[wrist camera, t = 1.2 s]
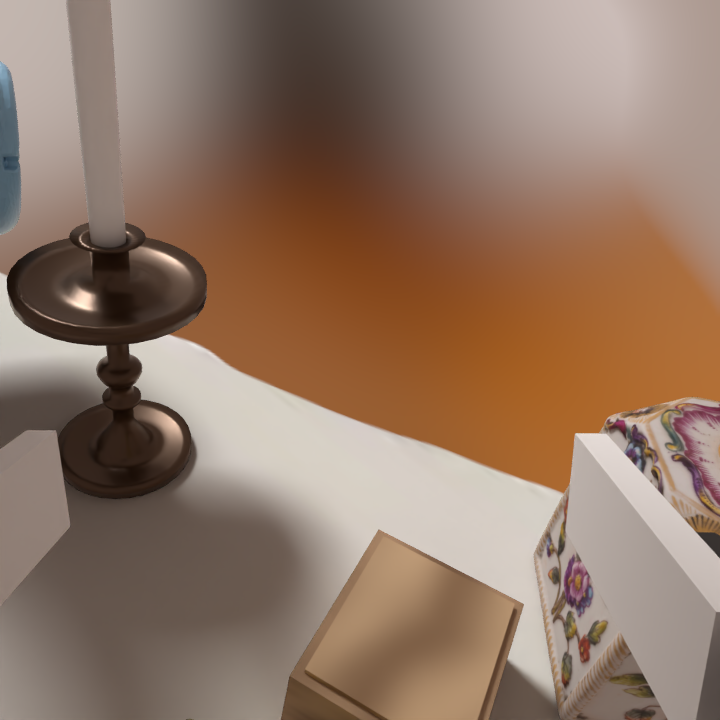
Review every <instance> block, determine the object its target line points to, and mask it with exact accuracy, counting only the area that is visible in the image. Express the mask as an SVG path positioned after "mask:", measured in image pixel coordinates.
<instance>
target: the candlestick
mask: <svg viewBox="0 0 720 720" xmlns="http://www.w3.org/2000/svg"><path fill="white" fill-rule="evenodd" d="M66 7H67V17H68V27H69V36H70V45H71V54H72V55H71V56H72V65H73V75H74V84H75V94H76V103H77V112H78V113H77V114H78V123H79V133H80V142H81V151H82V162H83V171H84V181H85V191H86V200H87V209H88V219H89V223H86V224H83V225H80V226H78V227H76V228H75V229H74V230H72V232H71V233H70V236H69V237H70V238H68V239H63V240H59V241H56V242H53V243H50V244H47V245H44V246H42V247H40V248H37V249H35V250H34V251H31V252H29V253H28V254H26V255H25V256H24V257H23V258H21V259H20V260H18V261H17V262H16V264H15V265H14V266H13V267H12V268H11V270H10V272H9V275H8V277H7V291H8V296H9V301H10V305H11V307H12V309H13V311H14V314H15V315H16V316H17V317H18V318H19V319H20V320H21V321H22V322H23V323H24V324H25V325H26V326H28V327H30V328H31V329H33V330H35V331H36V332H38V333H41V334H43V335H46V336H48V337H51V338H53V339H57V340H62V341H66V342H70V343H76V344H85V345H94V346H106V349H107V356H106V357H104V358H102V359H101V360H100V361H99V363H98V365H97V368H96V371H97V375H98V377H99V378H100V380H101V381H102V382H103V383H104V384H105V385H106V386H108V387H109V388H108V389H106V390H105V391H104V393H103V396H102V398H103V404H100V405H97V406H95V407H92V408H90V409H87V410H86V411H84V412H82V413H81V414H79V415H77V416H76V417H75V418H74V419H72V420H71V421H70V422H69V423H68V424H67V425H66V427H65V428H64V429H63V430H62V432H61V434H60V436H59V438H58V446H59V452H60V459H61V466H62V472H63V477H64V478H65V479H66V481H67V482H68V483H69V484H70V485H72V486H73V487H75V488H76V489H77V490H79V491H82V492H84V493H86V494H88V495H92V496H96V497H100V498H111V499H120V498H131V497H136V496H141V495H144V494H147V493H150V492H153V491H155V490H157V489H159V488H161V487H163V486H165V485H167V484H168V483H169V482H171V481H172V480H173V479H174V478H176V477H177V476H178V475H179V474H180V472H181V471H182V470H183V469H184V467H185V466H186V464H187V462H188V460H189V456H190V452H191V433H190V430H189V427H188V425H187V424H186V422H185V420H184V419H183V418H182V417H181V416H180V415H179V414H178V413H177V412H175V411H174V410H172V409H170V408H169V407H167V406H164V405H162V404H159V403H156V402H151V401H147V400H141V393H140V390H139V389H138V388H137V387H135V386H133V384H135V383H136V381H137V380H138V379H139V377H140V375H141V373H142V364H141V362H140V361H139V359H137V358H136V357H135V356H133V355H130V354H129V344H134V343H140V342H144V341H148V340H153V339H157V338H159V337H162V336H165V335H168V334H170V333H173V332H175V331H177V330H179V329H180V328H182V327H184V326H186V325H187V324H188V323H190V322H191V321H192V320H193V319H195V318H196V317H197V316H198V314H199V313H200V311H201V310H202V309H203V307H204V304H205V301H206V293H207V281H206V274H205V271H204V269H203V267H202V266H201V264H200V263H199V262H198V261H197V260H196V259H195V258H194V257H192V256H191V255H190V254H188V253H187V252H185V251H183V250H181V249H179V248H177V247H175V246H173V245H170V244H168V243H165V242H162V241H158V240H154V239H150V238H146V236H145V233H144V232H143V231H142V230H141V229H139V228H138V227H136V226H134V225H131V224H128V223H125V215H124V200H123V185H122V170H121V154H120V139H119V125H118V110H117V95H116V81H115V65H114V50H113V34H112V19H111V4H110V0H66Z"/></svg>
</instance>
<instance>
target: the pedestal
mask: <svg viewBox="0 0 720 720" xmlns="http://www.w3.org/2000/svg"><path fill="white" fill-rule="evenodd" d="M523 606H524V604H523V603H521V602H519V601H517V600H515V599H513V598H511V597H509V596H507V595H505V594H503V593H501V592H499V591H497V590H495V589H493V588H491V587H489V586H488V585H486V584H484V583H482V582H480V581H478V580H476V579H474V578H472V577H470V576H468V575H466V574H464V573H462V572H460V571H458V570H456V569H454V568H453V567H451V566H449V565H447V564H445V563H443V562H441V561H439V560H437V559H435V558H433V557H431V556H429V555H427V554H425V553H423V552H421V551H419V550H418V549H416V548H414V547H412V546H410V545H408V544H406V543H404V542H402V541H400V540H398V539H396V538H394V537H392V536H390V535H388V534H386V533H384V532H382V531H381V530H378V532H377V533H376V535H375V536H374V538H373V540H372V541H371V543H370V545H369V546H368V548H367V550H366V551H365V553H364V555H363V556H362V558H361V560H360V561H359V563H358V564H357V566H356V568H355V569H354V571H353V573H352V574H351V576H350V578H349V579H348V581H347V583H346V584H345V586H344V587H343V589H342V591H341V592H340V594H339V596H338V597H337V599H336V601H335V602H334V604H333V606H332V607H331V609H330V610H329V612H328V614H327V615H326V617H325V619H324V620H323V622H322V624H321V625H320V627H319V629H318V630H317V632H316V634H315V635H314V637H313V638H312V640H311V642H310V643H309V645H308V647H307V648H306V650H305V652H304V653H303V655H302V657H301V658H300V660H299V661H298V663H297V665H296V666H295V668H294V670H293V671H292V673H291V675H290V677H289V682H288V687H287V692H286V697H285V702H284V707H283V713H282V718H281V720H489V717H490V713H491V710H492V707H493V704H494V700H495V697H496V694H497V691H498V687H499V684H500V681H501V677H502V674H503V671H504V668H505V664H506V661H507V658H508V655H509V651H510V648H511V645H512V642H513V638H514V635H515V632H516V628H517V625H518V622H519V619H520V615H521V612H522V609H523Z"/></svg>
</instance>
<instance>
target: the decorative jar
mask: <svg viewBox="0 0 720 720" xmlns="http://www.w3.org/2000/svg"><path fill="white" fill-rule="evenodd" d="M599 434H607V435H608V436H609V437H610V438H611V439H612V441H613V442H614V443H615V444H616V445H617V446H618V447H619V448H620V449H621V450H622V452H623V453H624V454H625V455H626V456H627V457H628V458H629V459H630V460H631V461H632V463H633V464H634V465H635V466H636V467H637V468H638V469H639V470H640V471H641V472H642V473H643V475H644V476H645V477H646V478H647V479H648V480H649V481H650V482H651V483H652V484H653V486H654V487H655V488H656V489H657V490H658V491H659V492H660V493H661V494H662V495H663V497H664V498H665V499H666V500H667V501H668V502H669V503H670V504H671V505H672V506H673V508H674V509H675V510H676V511H677V512H678V513H679V514H680V515H681V516H682V517H683V519H684V520H685V521H686V522H687V523H688V524H689V525H690V526H691V527H692V528H693V529H694V531H695V532H715V533H717V534H718V535H720V402H718V401H714V400H710V399H704V398H698V397H687V398H682V399H678V400H675V401H671V402H667V403H663V404H659V405H654V406H650V407H645V408H641V409H637V410H633V411H628V412H622V413H617V414H615V415H612V416H610V417H608V418H607V420H606V422H605V424H604V427H603V428H602V429H601V431H600V433H599ZM569 490H570V484H569V486H568V488H567V489H566V491H565V493H564V495H563V497H562V498H561V500H560V503H559V504H558V506H557V508H556V510H555V511H554V514H553V516H552V517H551V519H550V521H549V523H548V525H547V527H546V529H545V531H544V533H543V535H542V537H541V539H540V541H539V543H538V545H537V548H536V550H535V552H534V561H535V570H536V574H537V580H538V586H539V592H540V599H541V607H542V611H543V619H544V626H545V632H546V638H547V645H548V651H549V658H550V663H551V669H552V674H553V681H554V687H555V693H556V701H557V707H558V712H559V716H560V719H561V720H668V719H667V717H666V715H665V714H664V712H663V710H662V708H661V706H660V704H659V702H658V701H657V699H656V697H655V695H654V693H653V691H652V690H651V688H650V686H649V684H648V682H647V680H646V679H645V677H644V675H643V673H642V671H641V669H640V667H639V666H638V664H637V662H636V660H635V658H634V656H633V655H632V653H631V651H630V649H629V647H628V645H627V643H626V642H625V640H624V638H623V636H622V634H621V632H620V631H619V629H618V627H617V625H616V623H615V621H614V620H613V618H612V616H611V614H610V612H609V610H608V608H607V607H606V605H605V603H604V601H603V599H602V597H601V596H600V594H599V592H598V590H597V588H596V586H595V585H594V583H593V581H592V579H591V577H590V575H589V573H588V572H587V570H586V568H585V566H584V564H583V562H582V561H581V559H580V557H579V555H578V553H577V551H576V549H575V548H574V546H573V544H572V542H571V540H570V538H569V537H568V535H567V533H566V531H565V530H566V520H567V510H568V500H569Z"/></svg>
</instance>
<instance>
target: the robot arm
mask: <svg viewBox="0 0 720 720" xmlns="http://www.w3.org/2000/svg"><path fill="white" fill-rule="evenodd" d="M18 160H19V133H18V120H17V111H16V101H15V93H14V88H13V81H12V77H11V73H10V71H9V69H8V67H7V66H6V65H5V64H3V63H2V62H1V61H0V235H1V234H5V233H7V232H9V231H10V230H12V229H13V228H14V227H15V225H16V224H17V222H18V220H19V216H20V208H21V174H20V164H19V162H18ZM70 526H71V525H70V518H69V512H68V505H67V498H66V492H65V485H64V479H63V472H62V466H61V459H60V452H59V446H58V439H57V433H56V430H26V431H25V432H23V433H22V434H20V435H19V436H18V437H16V438H15V439H13V440H12V441H11V442H9V443H8V444H7V445H5V446H4V447H2V448H1V449H0V606H1V605H2V604H3V603H4V601H5V600H6V599H7V598H8V597H9V596H10V595H11V593H12V592H13V591H14V590H15V589H16V588H17V587H18V586H19V584H20V583H21V582H22V581H23V580H24V579H25V578H26V576H27V575H28V574H29V573H30V572H31V571H32V570H33V568H34V567H35V566H36V565H37V564H38V563H39V562H40V560H41V559H42V558H43V557H44V556H45V555H46V554H47V552H48V551H49V550H50V549H51V548H52V547H53V546H54V545H55V543H56V542H57V541H58V540H59V539H60V538H61V537H62V535H63V534H64V533H65V532H66V531H67V530H68V529H69V527H70ZM565 531H566V533H567V535H568V537H569V538H570V540H571V542H572V544H573V546H574V548H575V549H576V551H577V553H578V555H579V557H580V559H581V561H582V562H583V564H584V566H585V568H586V570H587V572H588V573H589V575H590V577H591V579H592V581H593V583H594V585H595V586H596V588H597V590H598V592H599V594H600V596H601V597H602V599H603V601H604V603H605V605H606V607H607V608H608V610H609V612H610V614H611V616H612V618H613V620H614V621H615V623H616V625H617V627H618V629H619V631H620V632H621V634H622V636H623V638H624V640H625V642H626V643H627V645H628V647H629V649H630V651H631V653H632V655H633V656H634V658H635V660H636V662H637V664H638V666H639V667H640V669H641V671H642V673H643V675H644V677H645V679H646V680H647V682H648V684H649V686H650V688H651V690H652V691H653V693H654V695H655V697H656V699H657V701H658V702H659V704H660V706H661V708H662V710H663V712H664V714H665V715H666V717H667V719H668V720H720V535H718V534H717V533H715V532H695V531H694V529H693V528H692V527H691V526H690V525H689V524H688V523H687V522H686V521H685V520H684V519H683V517H682V516H681V515H680V514H679V513H678V512H677V511H676V510H675V509H674V508H673V506H672V505H671V504H670V503H669V502H668V501H667V500H666V499H665V498H664V497H663V495H662V494H661V493H660V492H659V491H658V490H657V489H656V488H655V487H654V486H653V484H652V483H651V482H650V481H649V480H648V479H647V478H646V477H645V476H644V475H643V473H642V472H641V471H640V470H639V469H638V468H637V467H636V466H635V465H634V464H633V463H632V461H631V460H630V459H629V458H628V457H627V456H626V455H625V454H624V453H623V452H622V450H621V449H620V448H619V447H618V446H617V445H616V444H615V443H614V442H613V441H612V439H611V438H610V437H609V436H608V435H607V434H579V433H576V434H575V441H574V452H573V461H572V471H571V481H570V490H569V500H568V510H567V520H566V530H565Z"/></svg>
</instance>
